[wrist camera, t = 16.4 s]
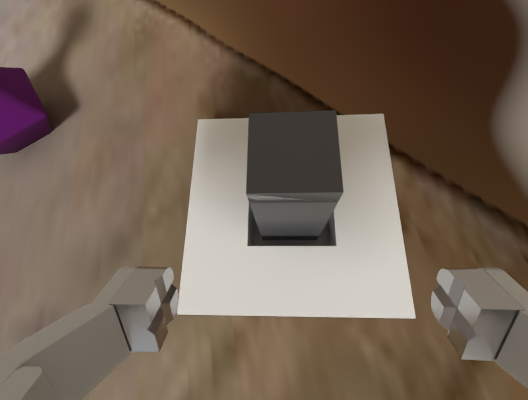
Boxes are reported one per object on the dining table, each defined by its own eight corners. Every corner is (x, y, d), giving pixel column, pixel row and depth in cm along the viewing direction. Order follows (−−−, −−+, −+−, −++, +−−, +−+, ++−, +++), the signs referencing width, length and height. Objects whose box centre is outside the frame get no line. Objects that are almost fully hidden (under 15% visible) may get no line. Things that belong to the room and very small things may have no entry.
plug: (262, 240, 23) (246, 193, 13) (263, 190, 25) (248, 113, 15) (316, 240, 23) (343, 192, 13) (314, 189, 25) (336, 110, 14)
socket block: (192, 312, 23) (177, 314, 19) (208, 140, 28) (198, 119, 25) (395, 315, 22) (415, 318, 18) (371, 136, 27) (383, 113, 24)
